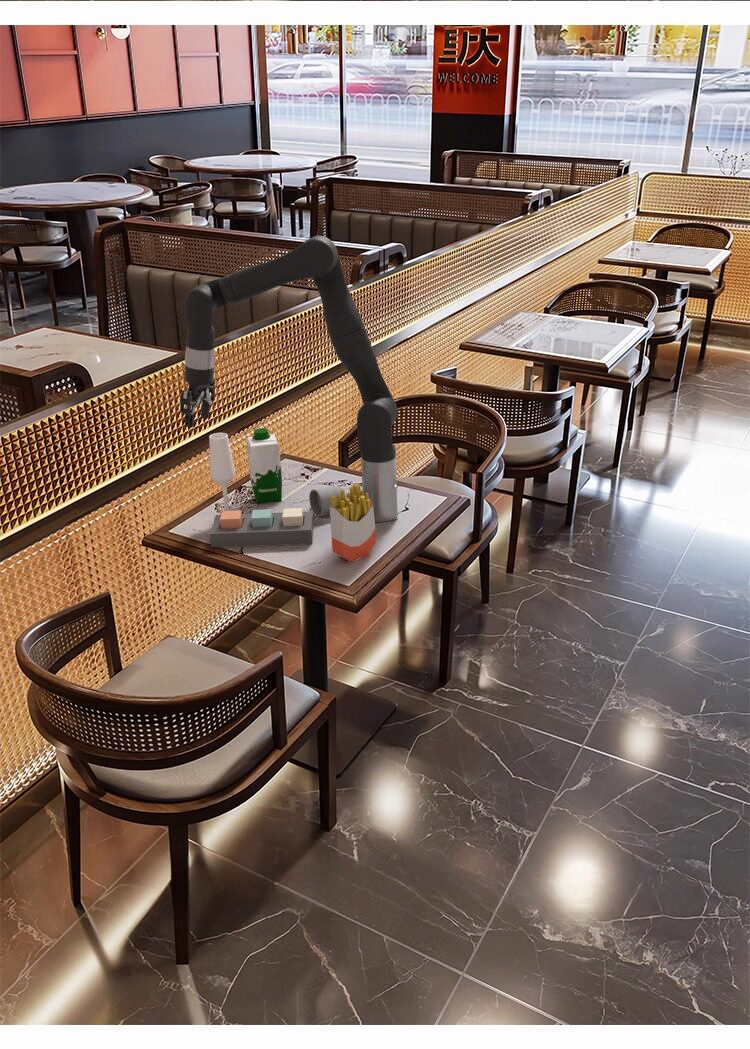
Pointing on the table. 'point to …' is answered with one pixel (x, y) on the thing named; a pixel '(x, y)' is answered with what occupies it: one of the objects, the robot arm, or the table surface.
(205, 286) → the robot arm
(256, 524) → the teal key
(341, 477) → the table surface
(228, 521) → the terracotta key
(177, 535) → the table surface
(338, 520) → the french fries container
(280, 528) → the grey long flat block
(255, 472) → the milk carton
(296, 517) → the sand key
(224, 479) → the champagne flute
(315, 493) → the ceramic mug
